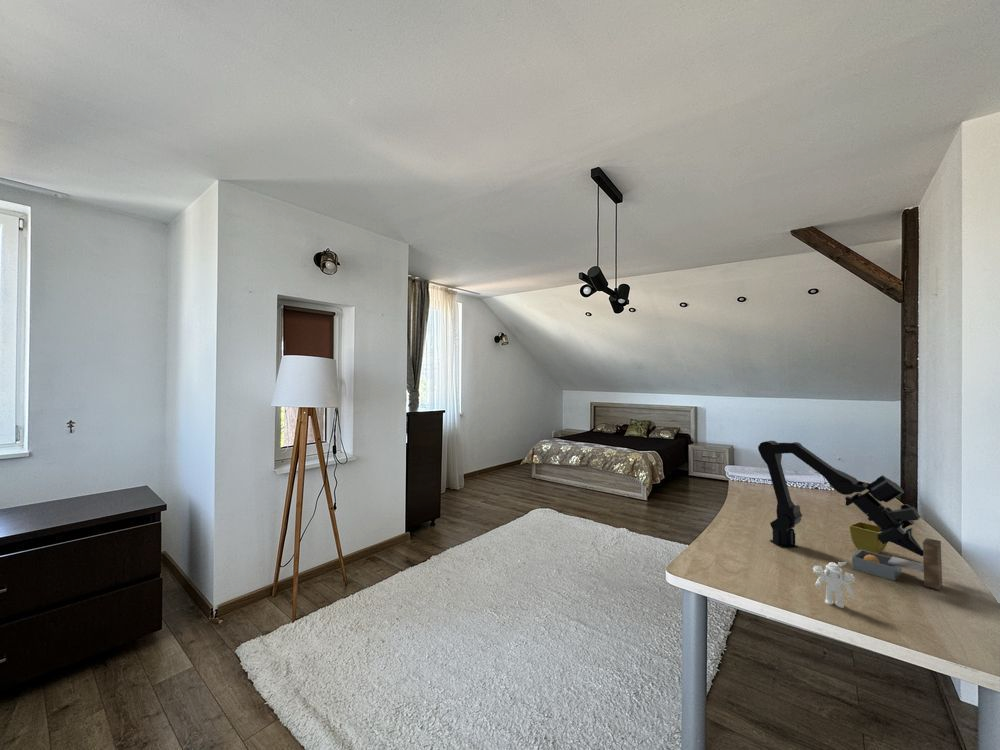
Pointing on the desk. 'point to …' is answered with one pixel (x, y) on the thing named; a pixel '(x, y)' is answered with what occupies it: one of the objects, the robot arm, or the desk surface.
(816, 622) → the desk surface
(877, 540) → the flower pot
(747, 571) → the desk surface
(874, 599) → the desk surface
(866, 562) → the shallow blue-grey tray
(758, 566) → the desk surface
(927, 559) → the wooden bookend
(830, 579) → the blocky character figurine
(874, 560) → the ball
